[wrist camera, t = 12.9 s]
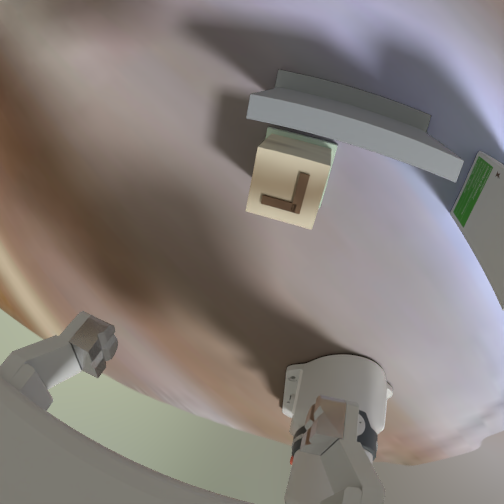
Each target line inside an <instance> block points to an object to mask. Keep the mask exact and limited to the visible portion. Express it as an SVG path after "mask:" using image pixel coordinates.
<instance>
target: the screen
mask: <svg viewBox="0 0 504 504" xmlns="http://www.w3.org/2000/svg"><path fill="white" fill-rule="evenodd" d="M246 118H247V119H252V120H256V121H261V122H266V123H270V124H275V125H279V126H284V127H288V128H292V129H296V130H300V131H304V132H308V133H312V134H315V135H319V136H323V137H326V138H330V139H333V140H337V141H340V142H344V143H347V144H350V145H354V146H357V147H360V148H363V149H366V150H369V151H372V152H376V153H379V154H381V155H384V156H387V157H390V158H393V159H396V160H399V161H401V162H404V163H407V164H410V165H412V166H415V167H418V168H420V169H423V170H425V171H428V172H430V173H433V174H435V175H438V176H440V177H443V178H445V179H448V180H450V181H452V182H455V183H456V181H457V179H458V176H459V173H460V171H461V168H462V165H463V163H464V161H463V160H462V159H461V158H460V157H458V156H457V155H456V154H455V153H453V152H452V151H451V150H449V149H448V148H447V147H445V146H444V145H443V144H441V143H440V142H439V141H437V140H436V139H435V138H433V137H432V136H430V135H429V134H427V133H426V132H427V128H428V125H429V122H430V118H431V115H429V114H427V113H424V112H422V111H419V110H417V109H414V108H412V107H409V106H406V105H404V104H401V103H398V102H396V101H393V100H390V99H387V98H384V97H381V96H378V95H375V94H372V93H369V92H366V91H363V90H360V89H356V88H353V87H349V86H346V85H342V84H339V83H335V82H331V81H328V80H324V79H320V78H316V77H311V76H307V75H303V74H298V73H294V72H289V71H284V70H278V74H277V79H276V84H275V88H274V89H270V90H265V91H261V92H257V93H253V94H250V100H249V105H248V111H247V117H246Z"/></svg>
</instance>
